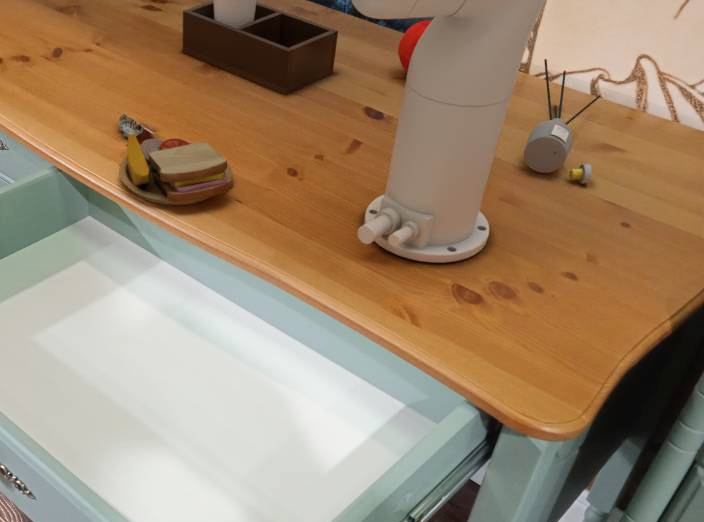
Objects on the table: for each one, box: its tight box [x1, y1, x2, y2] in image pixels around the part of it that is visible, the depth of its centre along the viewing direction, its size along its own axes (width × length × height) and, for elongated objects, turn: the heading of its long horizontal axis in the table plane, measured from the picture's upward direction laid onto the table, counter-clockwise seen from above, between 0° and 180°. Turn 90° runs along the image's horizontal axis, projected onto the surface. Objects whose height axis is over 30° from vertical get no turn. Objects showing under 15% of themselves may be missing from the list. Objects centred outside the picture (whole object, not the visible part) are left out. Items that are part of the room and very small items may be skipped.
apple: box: [397, 19, 433, 74], centre depth 114 cm, size 8×8×7 cm
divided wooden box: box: [182, 0, 339, 96], centre depth 118 cm, size 10×19×6 cm, turn 44°
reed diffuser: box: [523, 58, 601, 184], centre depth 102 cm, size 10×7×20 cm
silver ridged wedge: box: [118, 113, 155, 138], centre depth 104 cm, size 6×2×3 cm
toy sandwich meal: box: [118, 134, 234, 206], centre depth 94 cm, size 12×14×5 cm
